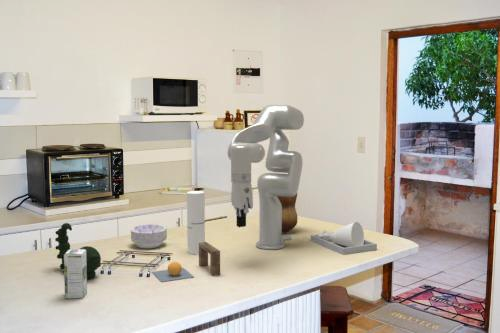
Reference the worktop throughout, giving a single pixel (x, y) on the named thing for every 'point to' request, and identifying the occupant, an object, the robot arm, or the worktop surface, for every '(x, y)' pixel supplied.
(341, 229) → the rocket engine
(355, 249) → the grey rimmed tray
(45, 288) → the worktop surface
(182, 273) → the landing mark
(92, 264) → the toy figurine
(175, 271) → the ball
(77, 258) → the syrup box
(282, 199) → the brown vase
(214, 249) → the bridge
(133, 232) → the paper bowls
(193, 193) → the cylindrical container
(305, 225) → the worktop surface
